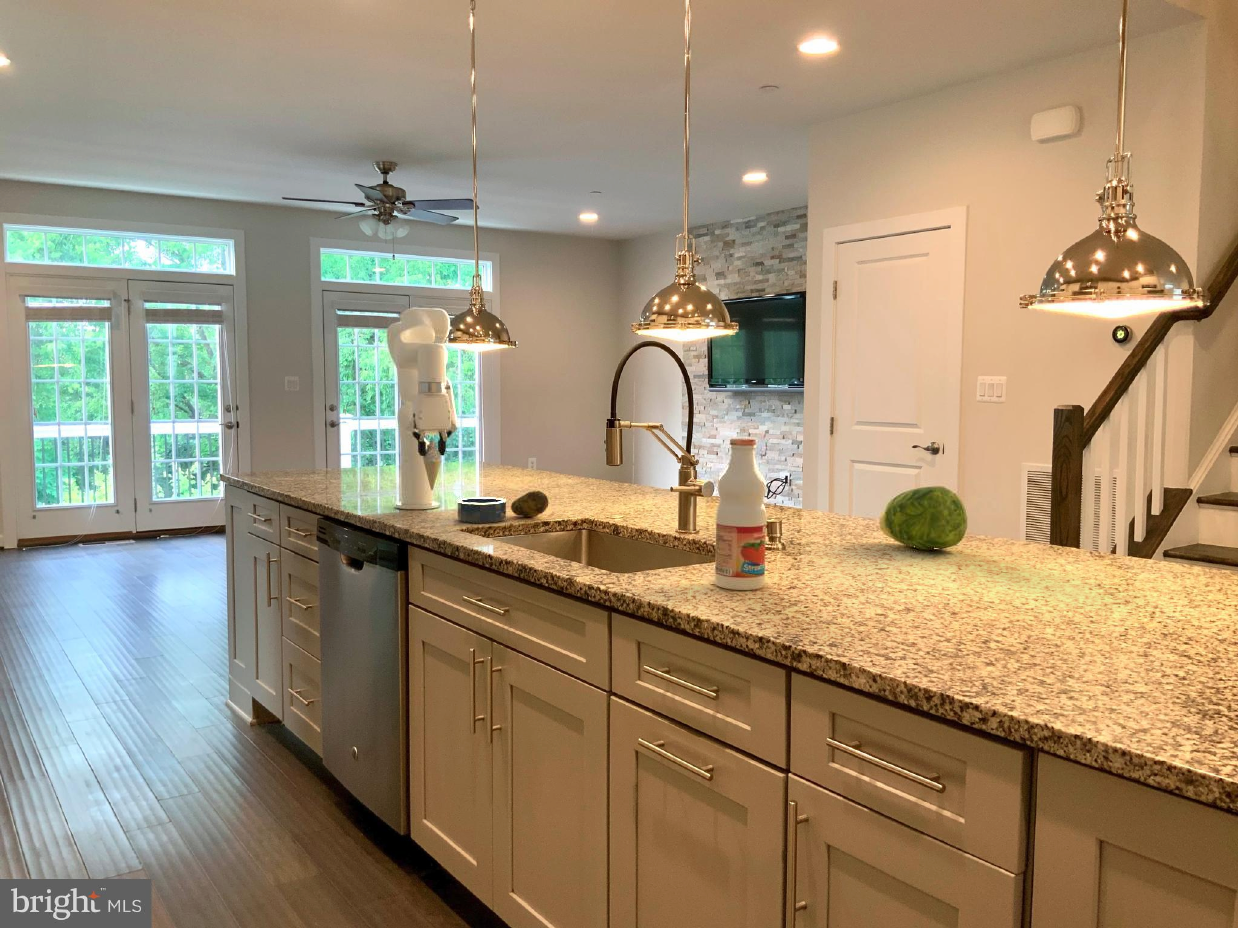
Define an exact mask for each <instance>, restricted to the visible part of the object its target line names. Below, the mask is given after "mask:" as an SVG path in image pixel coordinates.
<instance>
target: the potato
mask: <svg viewBox="0 0 1238 928" xmlns="http://www.w3.org/2000/svg"><path fill="white" fill-rule="evenodd" d="M549 503H550V502H549V498H548V496H547V494H545V493H544V492H543V491H540V490H534V491H532V490H531V491H527V492H526V493H525V494H523V495H521V496H519V497H518V498H516V499H515V500H513V501H512V502H511V505H510V510H511V511H512V513H513V514H514V515H516V516H519V517H520V516H521V517H525V518H536V517H538V516H539V515H542V514H543V513H544V512H545V511H546V510H547V509H548V507H549Z"/></svg>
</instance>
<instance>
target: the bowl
mask: <svg viewBox="0 0 1238 928" xmlns="http://www.w3.org/2000/svg"><path fill="white" fill-rule="evenodd" d="M456 507H457V508H456V510H457V512H456V513H457V514H456V515H457V516H456V517H457V518H456V519H457V520H459V521H462V522H464V523H469V524H493V523H498V522H502V521H504V520H505V519H506V518H507V500H506V499H503V498H498V497H497V498H496V497H470V498H461V499H458V500H457V503H456Z"/></svg>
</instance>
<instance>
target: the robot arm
mask: <svg viewBox="0 0 1238 928" xmlns="http://www.w3.org/2000/svg"><path fill="white" fill-rule="evenodd" d="M450 329H451V322H450V317H449V315H448V312H446V311H445V310H444V309H442V308H431V307H412V308H408V309H405V310H404V311H403V312H402V313H401V316H400V321H397V322H393V323H391V324H390V325H388V327H387V330H386V344H387V348H388V352H389V354H390V357H391V359H392V361H393V363H394V365H395V368H396V372H397V381H398V392H399V397H400V400H401V401H402V403H403V405H401V406H400V408H399V409H398V411H397V425H398V431H399V439H400V484H401V485H400V486H401V487H400V488H401V489H400V492H401V494H400V495H401V500H400V501H399V502H397V503H396V504H395V507H396V509H400V510H432V509H436V508H439V502H436V501H434V489H433V490H431V488H430V484H429V480H428V476H427V472H426V469H425V465H424V462H423V461H424V460H423V457H424V456H426V450H427V448H428V447H427V445H428V444H429V441H428V440H427V439H426V436H438V437H439V440H438V441H437V450H438V451H439V452H440V454H441V456H442V457H443V456H445V453H446V452H447V441H448V440H449V438H450V437H451V436H452V435H453V434H454V433H455V432H456V431H458V426H457V423H458V421H457V411H456V405H455V399H454V391H453V387H452V382H451V381H450V379H449V378H448V377H447V364H448V361H449V353H448V349H446V347H445V342H446V340H447V338H448V336H449V333H450Z"/></svg>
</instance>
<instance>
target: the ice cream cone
mask: <svg viewBox="0 0 1238 928" xmlns="http://www.w3.org/2000/svg"><path fill="white" fill-rule="evenodd" d="M428 443H429V444H428V445H427V447H428V448H427V450H426V456H424V457H423V460H424V461H423V462H424V465H425V469H426V472H427V476H428V480H429V484H430V488H431V490H433V491H434V489H435V485H436V481H437V478H438V474H439V470H440V468H441V463H442V457H441V456H442V455H441V454H440V452H439V451H438V444H436V442H435V440H434V437H433V436H431V438H430V440H429V441H428Z"/></svg>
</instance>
